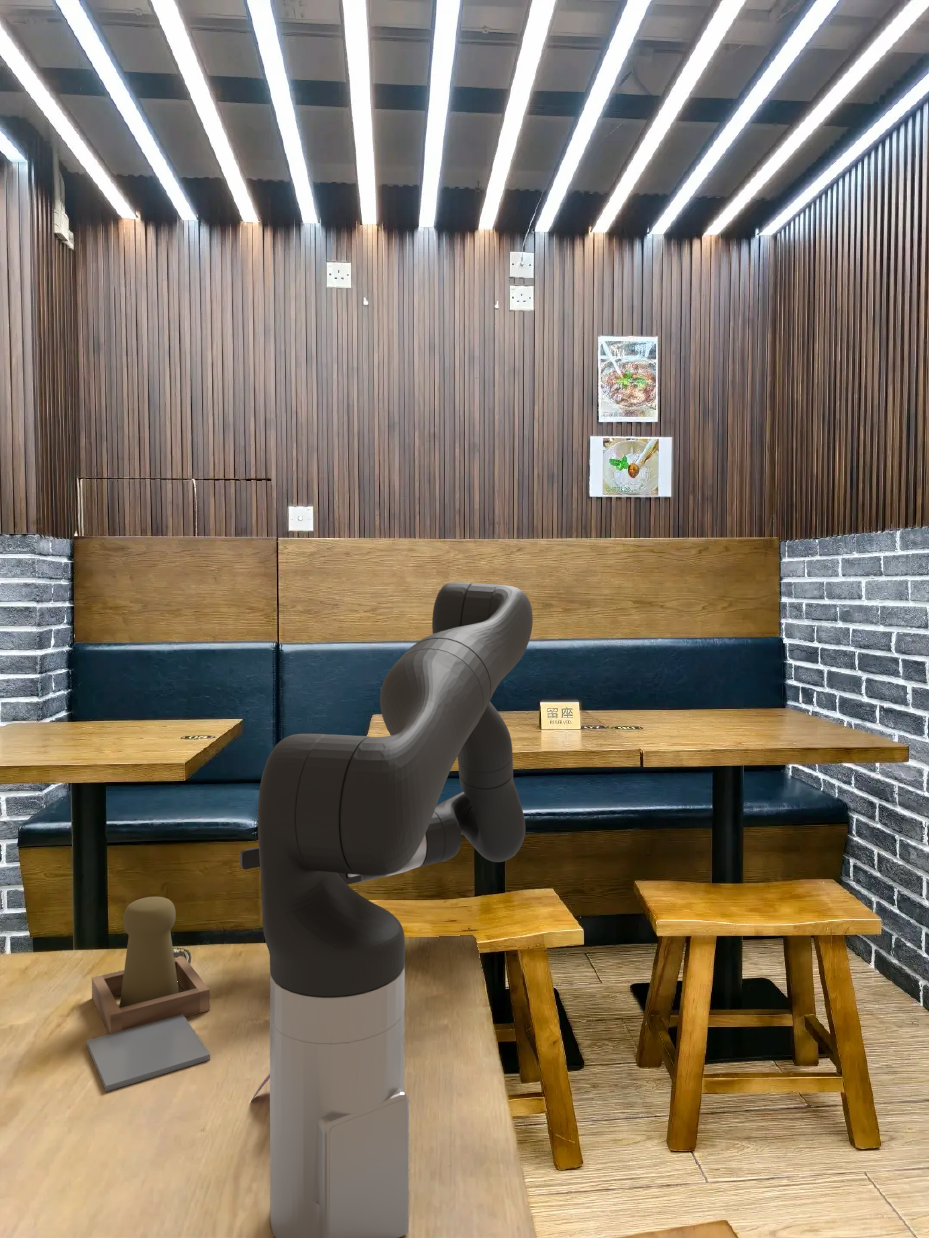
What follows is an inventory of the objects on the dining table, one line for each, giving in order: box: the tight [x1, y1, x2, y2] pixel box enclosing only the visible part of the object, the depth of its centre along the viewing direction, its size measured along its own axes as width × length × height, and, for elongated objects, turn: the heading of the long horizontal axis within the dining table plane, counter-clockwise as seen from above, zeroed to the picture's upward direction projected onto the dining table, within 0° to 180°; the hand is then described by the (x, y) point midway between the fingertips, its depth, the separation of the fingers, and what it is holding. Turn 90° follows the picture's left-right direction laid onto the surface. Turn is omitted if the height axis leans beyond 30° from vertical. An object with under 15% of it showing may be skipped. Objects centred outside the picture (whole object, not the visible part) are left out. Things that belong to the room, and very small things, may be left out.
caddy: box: [91, 955, 211, 1034], centre depth 87 cm, size 10×10×2 cm
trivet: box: [86, 1014, 211, 1092], centre depth 78 cm, size 9×9×1 cm
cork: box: [118, 896, 180, 1008], centre depth 87 cm, size 6×6×11 cm
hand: (253, 870), depth 94 cm, fingers open, 8 cm apart
